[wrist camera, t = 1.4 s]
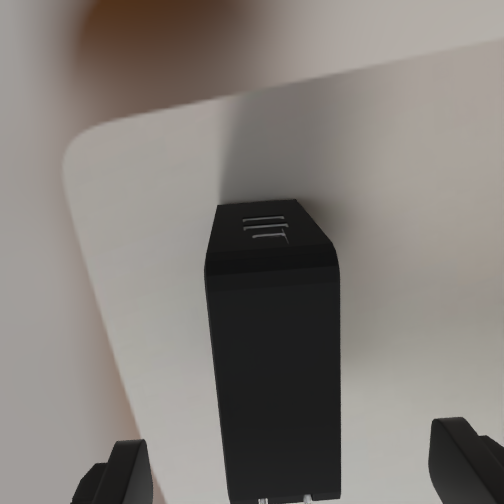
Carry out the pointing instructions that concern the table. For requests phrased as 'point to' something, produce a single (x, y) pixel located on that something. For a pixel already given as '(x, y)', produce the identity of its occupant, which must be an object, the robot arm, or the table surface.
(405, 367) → the table surface
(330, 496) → the electronic device
